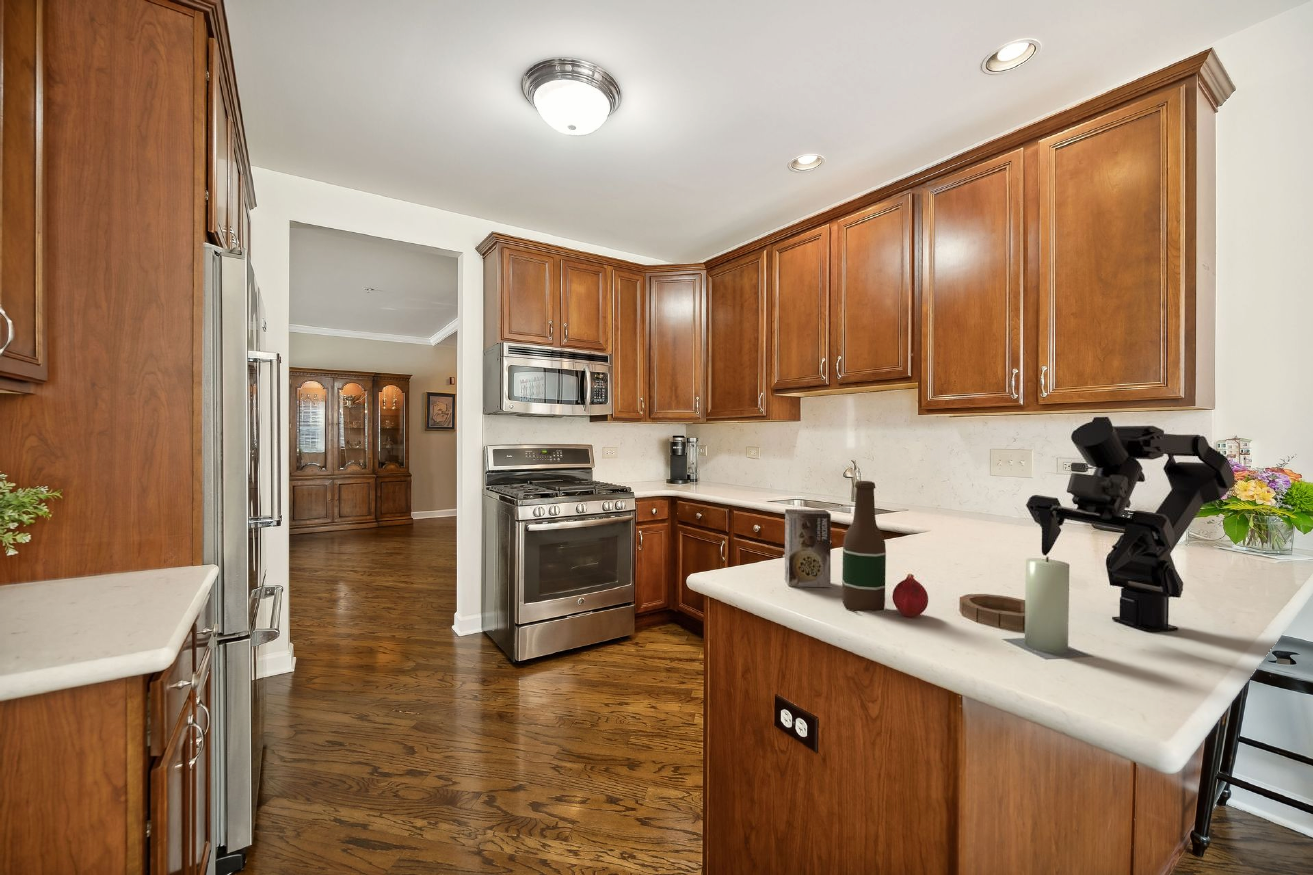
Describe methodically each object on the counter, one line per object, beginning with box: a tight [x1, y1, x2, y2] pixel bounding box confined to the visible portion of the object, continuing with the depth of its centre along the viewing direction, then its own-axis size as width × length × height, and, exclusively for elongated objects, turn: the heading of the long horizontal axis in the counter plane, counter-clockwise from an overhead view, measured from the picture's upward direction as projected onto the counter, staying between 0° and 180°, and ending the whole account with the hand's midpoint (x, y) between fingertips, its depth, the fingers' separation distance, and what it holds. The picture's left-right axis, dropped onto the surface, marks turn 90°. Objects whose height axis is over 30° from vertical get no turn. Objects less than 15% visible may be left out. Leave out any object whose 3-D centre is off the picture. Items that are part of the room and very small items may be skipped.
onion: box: [892, 573, 929, 618], centre depth 98 cm, size 6×6×8 cm
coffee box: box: [784, 508, 832, 588], centre depth 121 cm, size 9×6×16 cm
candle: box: [1024, 556, 1070, 654], centre depth 84 cm, size 5×5×14 cm
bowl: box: [958, 593, 1025, 632], centre depth 98 cm, size 13×13×3 cm
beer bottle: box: [841, 480, 887, 612], centre depth 104 cm, size 8×8×24 cm
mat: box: [1002, 637, 1094, 660], centre depth 84 cm, size 8×8×1 cm
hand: (1075, 561), depth 88 cm, fingers open, 9 cm apart
